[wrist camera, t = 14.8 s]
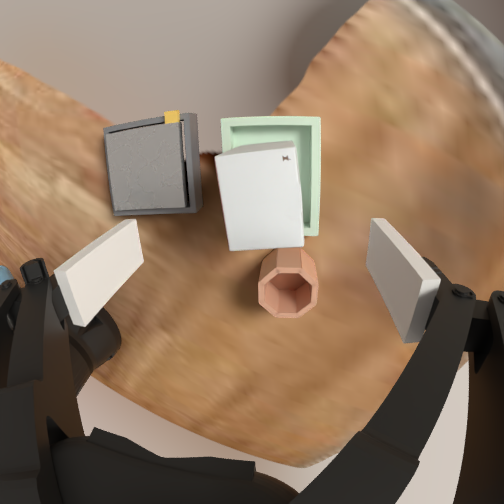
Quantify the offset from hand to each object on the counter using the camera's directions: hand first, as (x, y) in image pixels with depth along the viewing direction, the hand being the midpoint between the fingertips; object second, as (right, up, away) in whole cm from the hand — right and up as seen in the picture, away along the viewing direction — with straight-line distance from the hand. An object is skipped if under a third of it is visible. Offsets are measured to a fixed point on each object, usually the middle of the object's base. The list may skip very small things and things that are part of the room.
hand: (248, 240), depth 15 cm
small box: (+2, +9, +18) cm, 20 cm away
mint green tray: (+3, +9, +19) cm, 21 cm away
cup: (+5, -3, +24) cm, 24 cm away
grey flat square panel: (-13, +10, +17) cm, 23 cm away
